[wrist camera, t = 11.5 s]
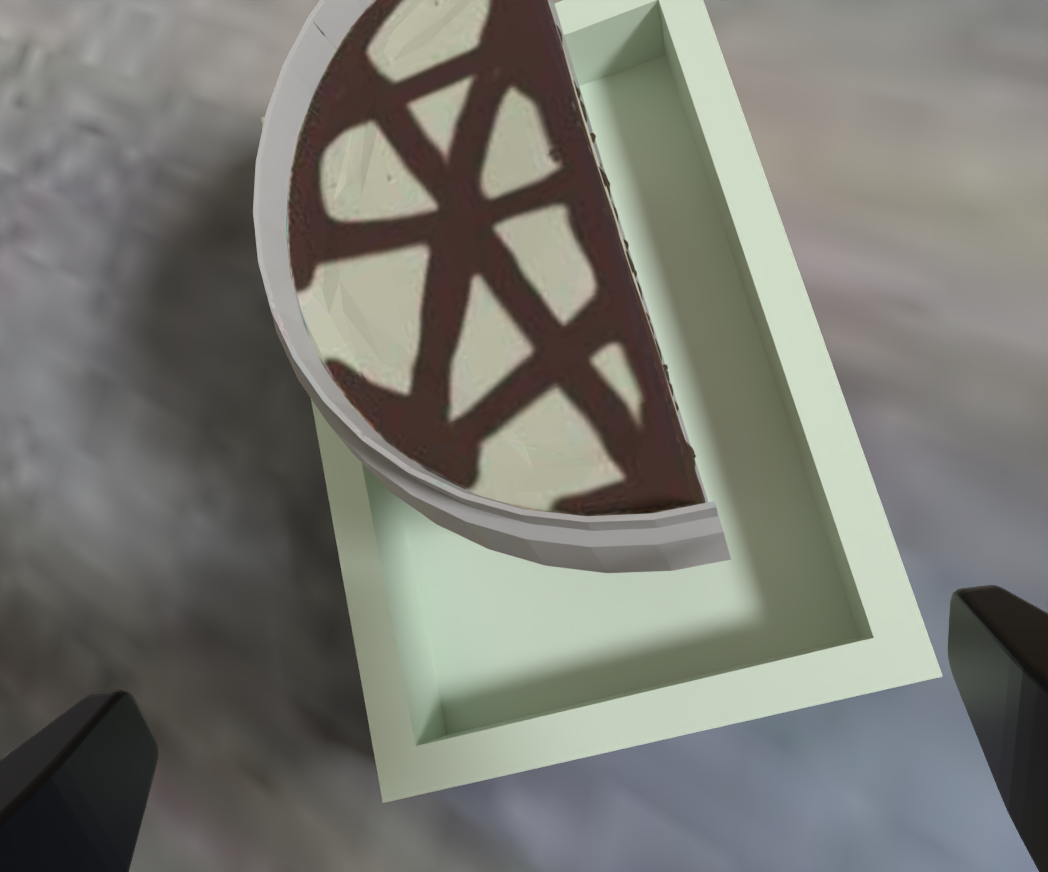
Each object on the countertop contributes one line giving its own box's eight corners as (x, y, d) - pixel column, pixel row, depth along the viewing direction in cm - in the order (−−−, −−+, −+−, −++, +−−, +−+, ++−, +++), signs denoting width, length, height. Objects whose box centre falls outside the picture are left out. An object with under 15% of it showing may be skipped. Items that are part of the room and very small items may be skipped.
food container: (390, 219, 25) (172, -36, 15) (596, 143, 24) (498, -181, 14) (490, 650, 21) (291, 668, 12) (734, 584, 20) (729, 547, 11)
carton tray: (913, 669, 20) (942, 676, 17) (429, 780, 22) (382, 802, 19) (692, 30, 25) (686, -48, 22) (312, 172, 27) (260, 117, 24)
